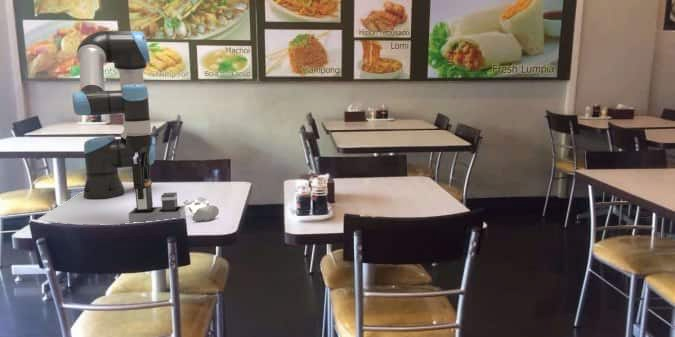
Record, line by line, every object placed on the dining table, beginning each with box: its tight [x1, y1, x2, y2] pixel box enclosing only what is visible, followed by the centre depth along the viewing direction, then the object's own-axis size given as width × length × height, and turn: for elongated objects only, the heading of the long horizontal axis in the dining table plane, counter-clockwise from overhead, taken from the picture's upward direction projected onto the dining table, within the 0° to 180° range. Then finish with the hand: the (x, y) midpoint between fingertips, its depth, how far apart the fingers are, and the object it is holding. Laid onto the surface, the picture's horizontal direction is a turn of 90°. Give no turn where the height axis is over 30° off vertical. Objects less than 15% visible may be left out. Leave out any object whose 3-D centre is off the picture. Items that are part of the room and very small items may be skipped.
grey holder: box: [128, 191, 187, 223], centre depth 183 cm, size 8×16×10 cm, turn 95°
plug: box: [134, 179, 154, 210], centre depth 182 cm, size 4×4×9 cm
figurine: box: [183, 196, 220, 222], centre depth 191 cm, size 9×6×12 cm
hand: (144, 206), depth 182 cm, fingers closed on plug, 4 cm apart
